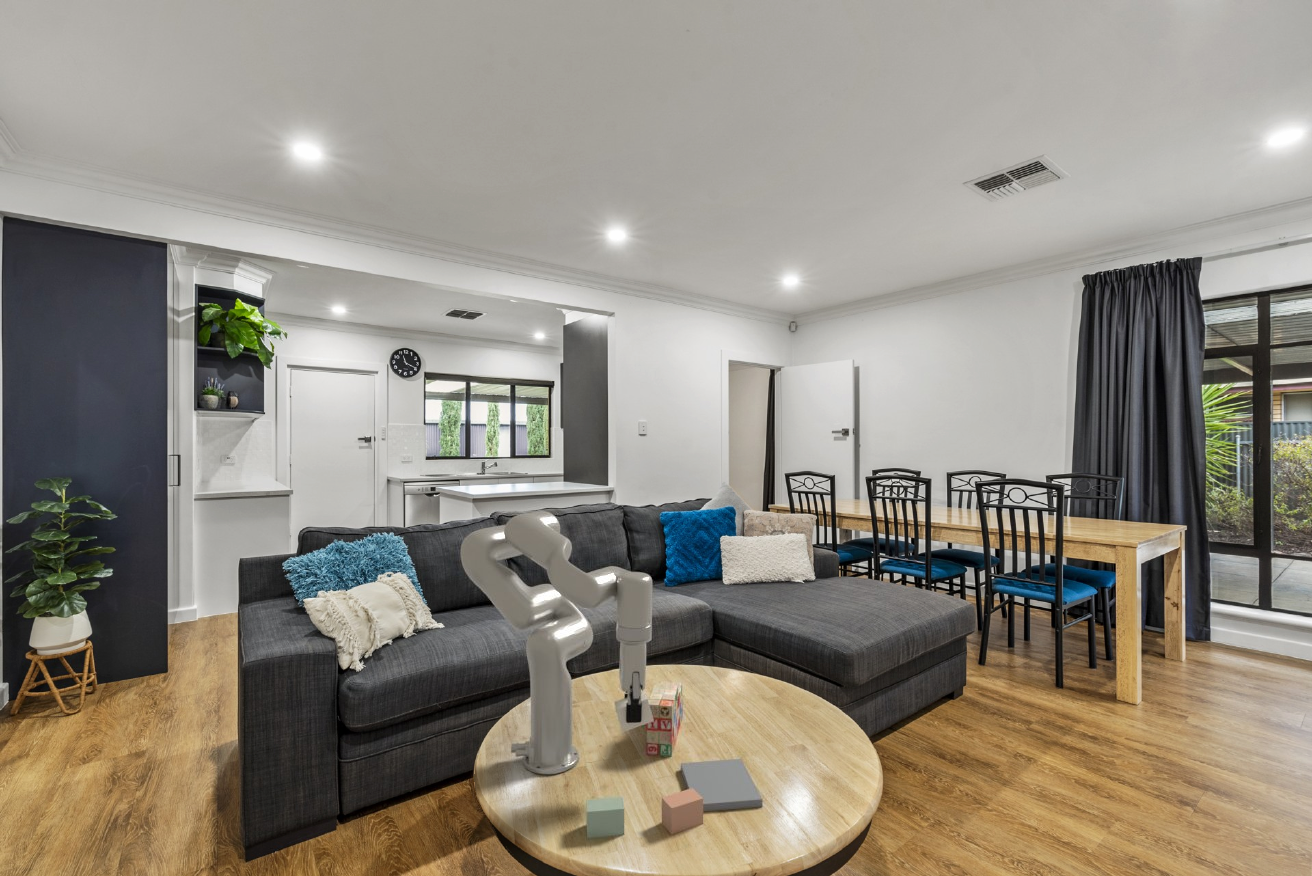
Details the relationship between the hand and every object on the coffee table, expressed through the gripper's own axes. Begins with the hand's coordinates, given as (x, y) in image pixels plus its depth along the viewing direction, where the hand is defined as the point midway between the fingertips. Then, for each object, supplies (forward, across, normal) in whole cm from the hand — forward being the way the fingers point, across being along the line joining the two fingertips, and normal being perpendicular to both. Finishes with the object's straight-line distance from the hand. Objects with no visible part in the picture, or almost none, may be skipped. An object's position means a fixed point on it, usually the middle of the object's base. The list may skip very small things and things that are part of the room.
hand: (632, 716), depth 133 cm
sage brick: (+15, +14, -6) cm, 21 cm away
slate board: (+15, +2, +19) cm, 24 cm away
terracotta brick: (+15, +14, +9) cm, 22 cm away
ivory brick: (+1, 0, +1) cm, 2 cm away
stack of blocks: (+16, -22, +11) cm, 30 cm away
